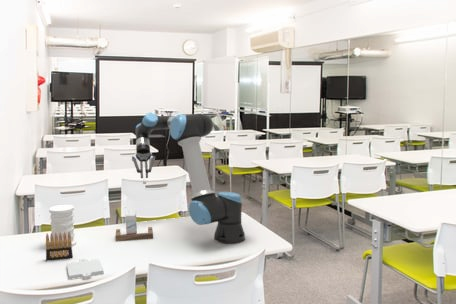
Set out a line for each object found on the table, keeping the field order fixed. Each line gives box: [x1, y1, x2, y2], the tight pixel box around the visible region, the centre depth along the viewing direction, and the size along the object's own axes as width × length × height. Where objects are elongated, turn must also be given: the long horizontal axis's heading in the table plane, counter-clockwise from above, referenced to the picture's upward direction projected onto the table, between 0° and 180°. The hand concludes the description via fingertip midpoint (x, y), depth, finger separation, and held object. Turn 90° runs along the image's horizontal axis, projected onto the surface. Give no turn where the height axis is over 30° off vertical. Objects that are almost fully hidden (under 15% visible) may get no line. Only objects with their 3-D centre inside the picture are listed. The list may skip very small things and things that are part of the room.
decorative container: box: [48, 204, 77, 247], centre depth 203 cm, size 12×12×18 cm
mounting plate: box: [66, 258, 104, 281], centre depth 175 cm, size 18×13×2 cm
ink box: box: [125, 210, 138, 234], centre depth 216 cm, size 9×5×12 cm, turn 10°
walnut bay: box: [114, 226, 154, 242], centre depth 216 cm, size 11×18×2 cm, turn 103°
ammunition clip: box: [45, 232, 74, 262], centre depth 187 cm, size 11×2×12 cm, turn 106°
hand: (144, 182), depth 229 cm, fingers closed
